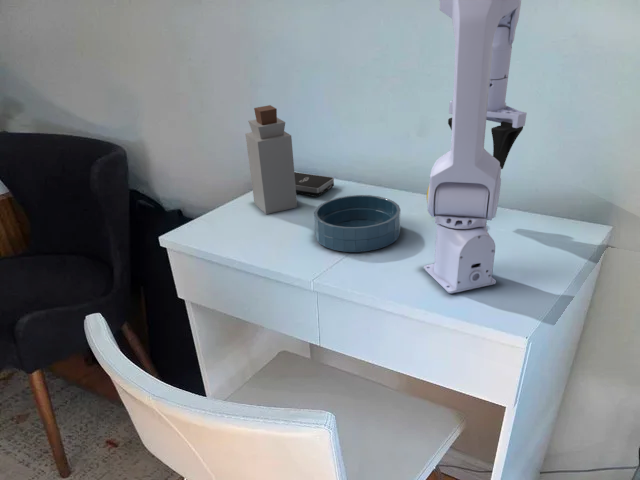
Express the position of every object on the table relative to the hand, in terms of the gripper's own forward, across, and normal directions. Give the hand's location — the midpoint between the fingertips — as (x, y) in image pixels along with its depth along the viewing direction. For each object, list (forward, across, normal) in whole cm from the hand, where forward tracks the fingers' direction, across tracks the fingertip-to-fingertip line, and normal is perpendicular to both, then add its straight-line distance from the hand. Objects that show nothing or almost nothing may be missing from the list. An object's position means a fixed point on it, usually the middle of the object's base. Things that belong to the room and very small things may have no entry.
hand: (480, 164), depth 106 cm
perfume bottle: (+10, +34, +22) cm, 41 cm away
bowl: (+10, +10, +19) cm, 24 cm away
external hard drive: (+10, +36, +12) cm, 40 cm away
